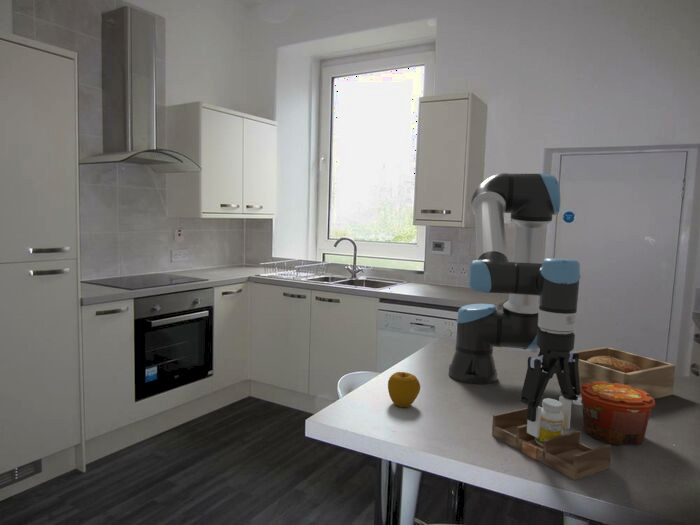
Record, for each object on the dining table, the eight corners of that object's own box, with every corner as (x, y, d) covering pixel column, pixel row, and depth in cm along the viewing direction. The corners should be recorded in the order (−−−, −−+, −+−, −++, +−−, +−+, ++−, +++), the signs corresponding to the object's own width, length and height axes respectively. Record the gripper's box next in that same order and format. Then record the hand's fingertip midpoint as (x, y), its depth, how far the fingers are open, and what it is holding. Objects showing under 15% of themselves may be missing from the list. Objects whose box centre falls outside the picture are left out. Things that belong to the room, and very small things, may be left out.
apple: (422, 402, 134) (424, 371, 133) (413, 413, 126) (415, 380, 125) (393, 397, 138) (394, 366, 137) (382, 407, 130) (383, 374, 129)
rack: (491, 435, 115) (492, 415, 115) (524, 426, 120) (526, 407, 120) (573, 480, 96) (575, 456, 95) (609, 468, 101) (611, 445, 101)
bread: (567, 383, 154) (569, 352, 153) (590, 373, 166) (593, 344, 165) (639, 403, 139) (642, 369, 138) (659, 390, 151) (662, 358, 150)
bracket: (598, 411, 134) (599, 398, 133) (559, 402, 139) (560, 390, 139) (601, 404, 139) (602, 392, 139) (563, 396, 144) (564, 384, 144)
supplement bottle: (555, 452, 104) (561, 410, 103) (530, 442, 108) (535, 401, 106) (563, 443, 109) (569, 402, 107) (539, 434, 112) (544, 394, 110)
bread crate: (556, 381, 156) (558, 354, 155) (604, 372, 168) (606, 346, 167) (625, 406, 137) (627, 375, 136) (673, 394, 149) (676, 365, 148)
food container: (616, 419, 128) (620, 379, 127) (668, 447, 112) (672, 402, 111) (562, 422, 124) (565, 381, 123) (608, 452, 109) (612, 405, 108)
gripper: (535, 338, 97) (527, 447, 99) (603, 329, 108) (595, 428, 110) (506, 330, 104) (499, 432, 106) (573, 322, 114) (566, 416, 116)
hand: (548, 430), depth 108 cm, fingers open, 9 cm apart
